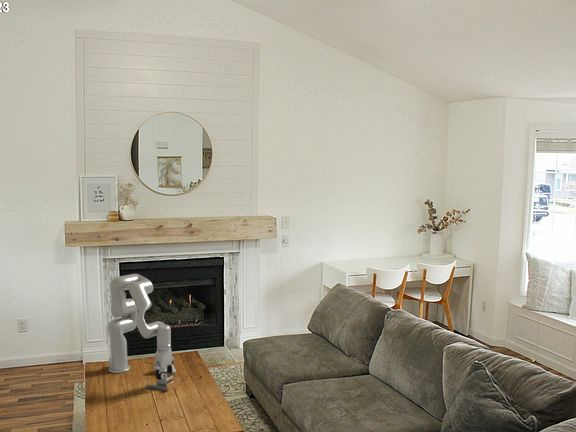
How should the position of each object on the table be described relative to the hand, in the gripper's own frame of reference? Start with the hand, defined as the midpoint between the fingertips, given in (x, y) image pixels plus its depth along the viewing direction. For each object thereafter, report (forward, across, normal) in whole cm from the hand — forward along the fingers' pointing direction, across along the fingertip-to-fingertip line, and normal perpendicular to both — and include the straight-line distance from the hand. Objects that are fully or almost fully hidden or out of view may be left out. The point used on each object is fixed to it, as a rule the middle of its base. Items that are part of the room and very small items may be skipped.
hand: (164, 376), depth 322 cm
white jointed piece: (+6, -17, -10) cm, 21 cm away
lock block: (+6, 0, +1) cm, 6 cm away
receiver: (+6, 0, +1) cm, 6 cm away
